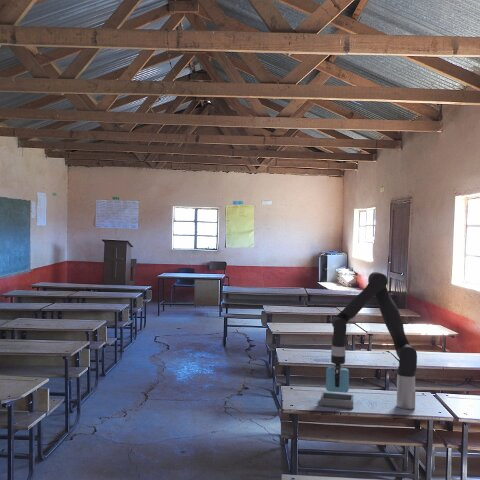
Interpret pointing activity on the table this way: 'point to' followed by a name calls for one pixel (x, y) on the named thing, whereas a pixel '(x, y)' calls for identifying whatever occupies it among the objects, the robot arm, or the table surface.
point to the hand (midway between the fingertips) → (337, 385)
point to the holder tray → (336, 400)
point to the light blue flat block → (342, 382)
